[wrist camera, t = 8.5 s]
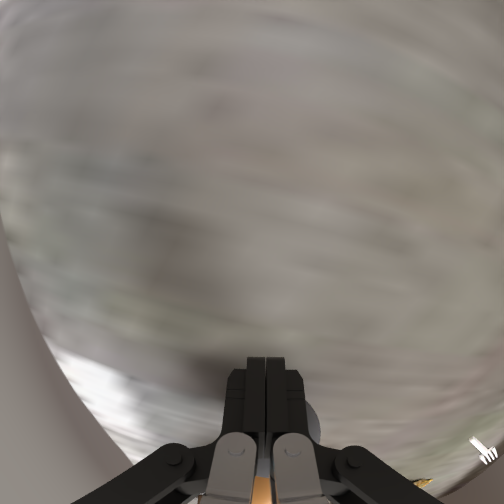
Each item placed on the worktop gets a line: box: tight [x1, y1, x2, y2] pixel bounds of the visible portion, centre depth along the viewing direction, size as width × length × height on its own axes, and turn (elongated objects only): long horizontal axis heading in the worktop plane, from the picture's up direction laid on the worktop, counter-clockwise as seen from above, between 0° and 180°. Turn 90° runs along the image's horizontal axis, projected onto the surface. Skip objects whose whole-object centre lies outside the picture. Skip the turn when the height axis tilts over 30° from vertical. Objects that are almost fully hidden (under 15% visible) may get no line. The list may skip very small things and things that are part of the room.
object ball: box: [252, 476, 271, 504], centre depth 19 cm, size 6×6×6 cm
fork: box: [468, 436, 497, 465], centre depth 25 cm, size 3×20×2 cm, turn 47°
